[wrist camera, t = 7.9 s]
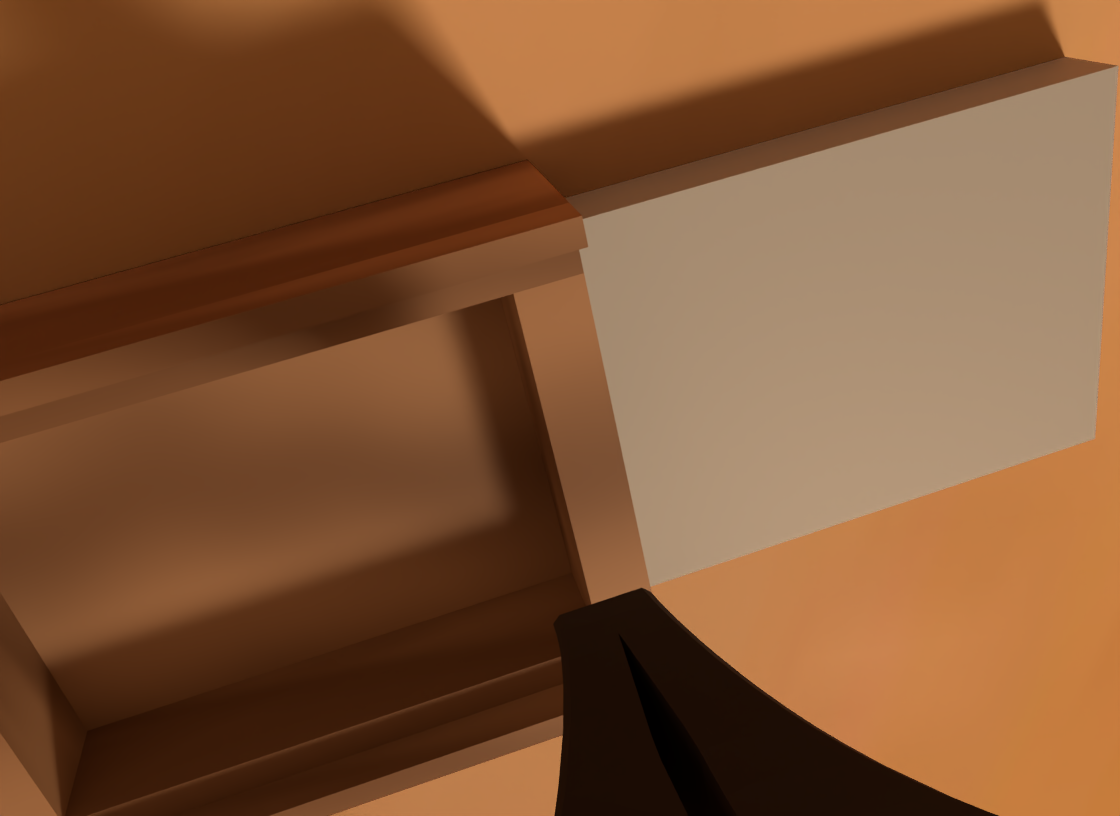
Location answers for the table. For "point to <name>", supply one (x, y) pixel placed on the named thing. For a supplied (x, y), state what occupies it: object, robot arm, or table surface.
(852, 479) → the cover plate
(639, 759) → the robot arm
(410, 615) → the walnut box
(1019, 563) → the table surface
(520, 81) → the table surface
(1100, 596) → the table surface
